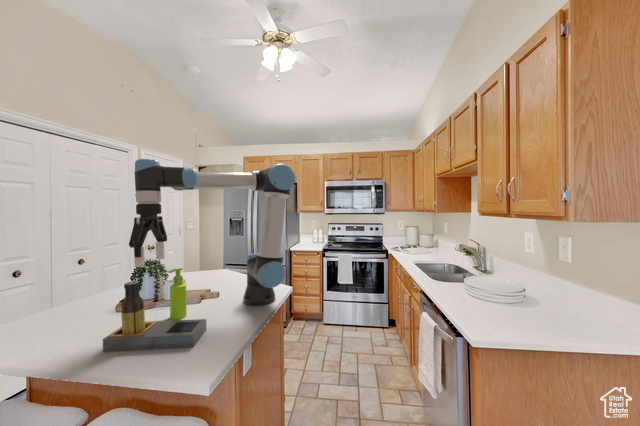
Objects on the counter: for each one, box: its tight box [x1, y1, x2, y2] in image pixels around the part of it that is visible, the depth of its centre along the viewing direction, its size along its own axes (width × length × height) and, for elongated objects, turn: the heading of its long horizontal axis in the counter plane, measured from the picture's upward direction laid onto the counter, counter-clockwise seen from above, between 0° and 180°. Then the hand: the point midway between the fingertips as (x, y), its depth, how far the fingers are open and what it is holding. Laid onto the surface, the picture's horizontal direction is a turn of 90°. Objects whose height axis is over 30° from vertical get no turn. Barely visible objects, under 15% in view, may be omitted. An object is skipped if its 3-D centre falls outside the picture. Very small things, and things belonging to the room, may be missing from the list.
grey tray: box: [102, 318, 207, 353], centre depth 87 cm, size 27×12×4 cm, turn 95°
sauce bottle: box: [121, 280, 146, 334], centre depth 86 cm, size 6×6×20 cm
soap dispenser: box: [167, 267, 187, 321], centre depth 105 cm, size 6×7×20 cm
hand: (150, 262), depth 92 cm, fingers open, 13 cm apart
